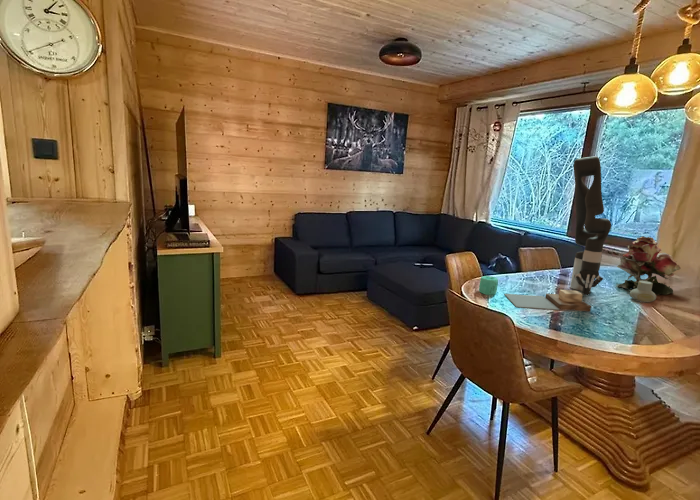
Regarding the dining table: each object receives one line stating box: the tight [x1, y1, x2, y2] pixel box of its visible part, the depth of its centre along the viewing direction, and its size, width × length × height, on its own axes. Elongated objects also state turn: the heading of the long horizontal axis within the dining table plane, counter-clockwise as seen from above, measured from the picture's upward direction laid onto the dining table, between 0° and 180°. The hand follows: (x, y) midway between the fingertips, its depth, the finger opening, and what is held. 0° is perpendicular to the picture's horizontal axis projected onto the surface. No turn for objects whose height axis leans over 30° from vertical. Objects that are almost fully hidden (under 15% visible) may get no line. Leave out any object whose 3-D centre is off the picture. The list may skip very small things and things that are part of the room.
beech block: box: [558, 289, 584, 302], centre depth 190 cm, size 8×6×4 cm
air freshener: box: [629, 281, 657, 304], centre depth 202 cm, size 11×8×10 cm
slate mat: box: [504, 293, 561, 311], centre depth 193 cm, size 20×19×1 cm
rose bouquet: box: [615, 235, 681, 296], centre depth 222 cm, size 26×29×30 cm
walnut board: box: [545, 293, 592, 312], centre depth 191 cm, size 14×16×2 cm
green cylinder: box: [478, 275, 499, 296], centre depth 204 cm, size 8×8×8 cm
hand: (585, 294), depth 189 cm, fingers closed
